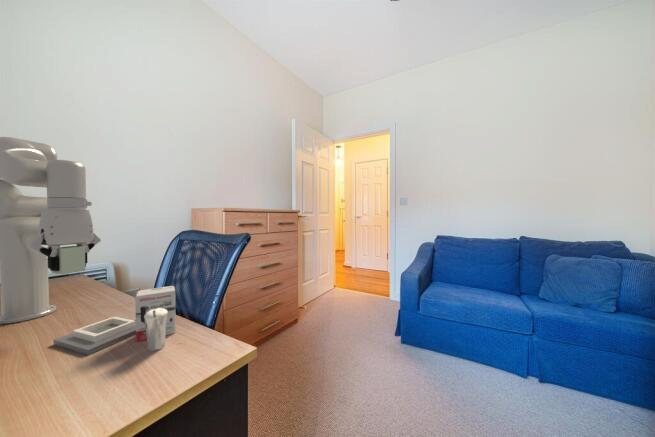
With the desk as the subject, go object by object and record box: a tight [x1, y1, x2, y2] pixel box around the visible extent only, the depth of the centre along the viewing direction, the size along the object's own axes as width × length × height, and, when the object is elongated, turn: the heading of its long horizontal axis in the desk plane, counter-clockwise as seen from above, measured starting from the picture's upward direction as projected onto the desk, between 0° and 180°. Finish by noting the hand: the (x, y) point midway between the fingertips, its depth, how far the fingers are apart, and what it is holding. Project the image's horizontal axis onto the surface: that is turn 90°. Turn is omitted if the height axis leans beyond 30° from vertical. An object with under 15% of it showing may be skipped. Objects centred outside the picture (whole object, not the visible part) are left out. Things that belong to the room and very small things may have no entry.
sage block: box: [51, 245, 86, 275], centre depth 69 cm, size 5×5×7 cm
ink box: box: [135, 285, 176, 343], centre depth 64 cm, size 8×5×12 cm, turn 123°
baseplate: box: [53, 316, 136, 356], centre depth 63 cm, size 14×14×3 cm
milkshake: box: [144, 308, 168, 352], centre depth 57 cm, size 4×5×10 cm
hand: (68, 267), depth 69 cm, fingers closed on sage block, 5 cm apart
